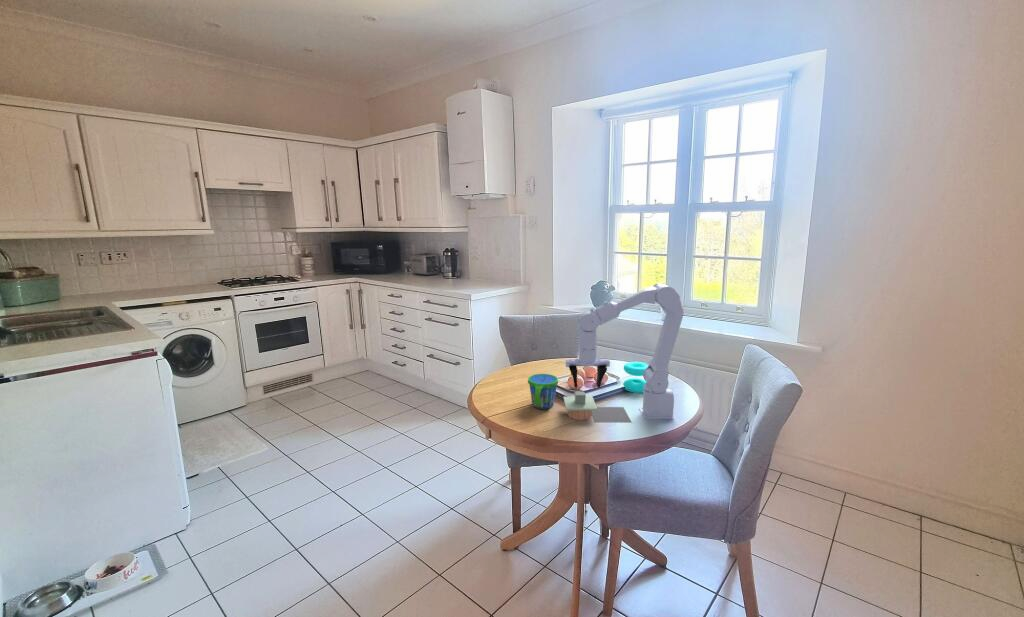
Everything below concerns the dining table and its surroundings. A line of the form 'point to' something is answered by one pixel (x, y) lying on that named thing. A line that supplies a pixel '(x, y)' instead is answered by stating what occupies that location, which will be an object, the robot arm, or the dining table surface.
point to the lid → (580, 402)
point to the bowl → (579, 414)
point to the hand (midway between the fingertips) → (587, 386)
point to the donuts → (635, 383)
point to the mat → (610, 414)
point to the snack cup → (543, 390)
